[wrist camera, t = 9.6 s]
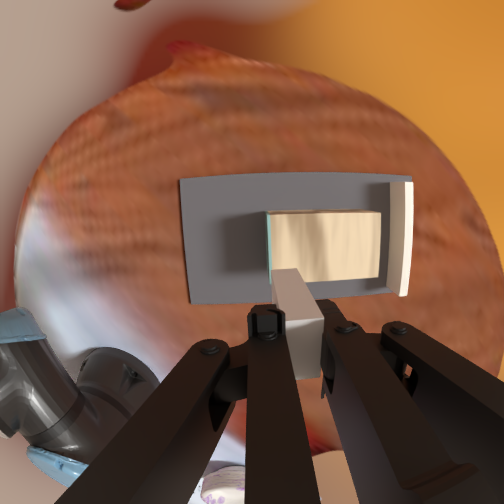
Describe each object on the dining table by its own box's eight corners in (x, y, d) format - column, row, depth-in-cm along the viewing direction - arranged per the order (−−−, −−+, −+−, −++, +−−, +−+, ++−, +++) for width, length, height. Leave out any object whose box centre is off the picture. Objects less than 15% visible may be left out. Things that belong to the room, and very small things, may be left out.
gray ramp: (191, 303, 35) (191, 304, 35) (180, 179, 32) (179, 179, 31) (405, 289, 35) (406, 290, 34) (409, 176, 31) (411, 176, 31)
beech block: (269, 284, 28) (378, 277, 28) (267, 215, 26) (380, 212, 26) (267, 268, 34) (359, 263, 33) (264, 210, 32) (360, 208, 32)
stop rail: (386, 286, 34) (399, 296, 30) (389, 182, 31) (405, 181, 27) (393, 285, 34) (406, 295, 30) (397, 182, 31) (412, 182, 27)
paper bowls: (192, 473, 45) (187, 499, 37) (230, 451, 42) (227, 482, 34) (246, 492, 47) (245, 516, 39) (287, 471, 44) (290, 499, 36)
